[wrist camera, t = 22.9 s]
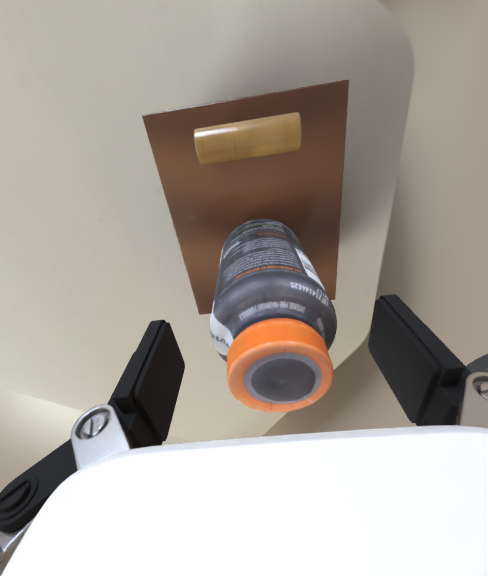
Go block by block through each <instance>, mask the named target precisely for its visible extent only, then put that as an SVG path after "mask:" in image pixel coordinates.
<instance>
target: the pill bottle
mask: <svg viewBox="0 0 488 576" xmlns="http://www.w3.org/2000/svg"><path fill="white" fill-rule="evenodd" d="M336 328H337V320H336V313H335V309H334V306H333V304H332V302H331V300H330V298H329V296H328V294H327V293H326V291H325V289H324V287H323V285H322V283H321V281H320V279H319V277H318V275H317V273H316V271H315V269H314V268H313V266H312V264H311V262H310V261H309V259H308V257H307V255H306V253H305V251H304V249H303V247H302V245H301V243H300V241H299V239H298V238H297V236H296V235H295V234H294V232H293V231H292V230H291V229H290V228H288V227H287V226H286V225H284V224H282V223H280V222H278V221H274V220H270V219H256V220H252V221H248V222H245V223H243V224H242V225H241V226H239V227H237V228H236V229H235V230H234V231H233V232H232V233H231V234H230V235H229V236H228V237H227V239H226V241H225V243H224V245H223V249H222V254H221V260H220V266H219V272H218V278H217V283H216V289H215V294H214V301H213V308H212V314H211V320H210V332H211V338H212V341H213V344H214V346H215V348H216V350H217V351H218V353H219V355H220V356H221V357H222V358H223V359H224V360H225V361H226V362H227V365H228V368H227V382H228V386H229V389H230V391H231V392H232V394H233V395H234V397H235V398H236V399H237V400H239V401H240V402H241V403H243V404H245V405H246V406H249V407H251V408H254V409H257V410H261V411H265V412H286V411H292V410H297V409H300V408H303V407H306V406H308V405H310V404H312V403H314V402H316V401H317V400H319V399H320V398H321V397H322V396H323V395H324V394H325V393H326V392H327V391H328V389H329V388H330V386H331V384H332V381H333V374H334V373H333V372H334V370H333V365H332V362H331V360H330V357H329V354H328V350H329V348H330V347H331V345H332V343H333V341H334V338H335V334H336Z"/></svg>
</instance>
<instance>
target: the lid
mask: <svg viewBox="0 0 488 576" xmlns="http://www.w3.org/2000/svg"><path fill="white" fill-rule="evenodd" d="M348 85H349V80H343V81H337V82H332V83H326V84H320V85H314V86H308V87H303V88H297V89H291V90H285V91H279V92H273V93H268V94H262V95H256V96H250V97H244V98H239V99H233V100H227V101H221V102H215V103H209V104H204V105H198V106H192V107H186V108H180V109H175V110H169V111H163V112H157V113H151V114H146V115H142V117H143V120H144V124H145V127H146V131H147V134H148V138H149V141H150V145H151V148H152V152H153V155H154V159H155V162H156V165H157V169H158V172H159V176H160V179H161V183H162V186H163V190H164V193H165V197H166V200H167V204H168V207H169V211H170V214H171V218H172V221H173V225H174V228H175V231H176V235H177V238H178V242H179V245H180V249H181V252H182V256H183V259H184V263H185V266H186V270H187V273H188V277H189V280H190V284H191V287H192V291H193V294H194V297H195V301H196V304H197V308H198V311H199V314H200V315H201V314H209V313H212V308H213V301H214V294H215V289H216V283H217V278H218V272H219V266H220V260H221V254H222V249H223V245H224V243H225V241H226V239H227V237H228V236H229V235H230V234H231V233H232V232H233V231H234V230H235V229H236V228H237V227H239V226H241V225H242V224H243V223H245V222H248V221H252V220H256V219H270V220H274V221H278V222H280V223H282V224H284V225H286V226H287V227H288V228H290V229H291V230H292V231H293V232H294V234H295V235H296V236H297V238H298V239H299V241H300V243H301V245H302V247H303V249H304V251H305V253H306V255H307V257H308V259H309V261H310V262H311V264H312V266H313V268H314V269H315V271H316V273H317V275H318V277H319V279H320V281H321V283H322V285H323V287H324V289H325V291H326V293H327V294H328V296H329V298H330V300H335V293H336V277H337V261H338V245H339V229H340V213H341V197H342V181H343V165H344V149H345V133H346V117H347V101H348Z"/></svg>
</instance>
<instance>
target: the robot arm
mask: <svg viewBox="0 0 488 576" xmlns="http://www.w3.org/2000/svg"><path fill="white" fill-rule="evenodd" d="M368 347H369V351H370V353H371V355H372V357H373V358H374V360H375V362H376V363H377V365H378V367H379V369H380V370H381V372H382V374H383V375H384V377H385V379H386V381H387V382H388V384H389V386H390V388H391V389H392V391H393V393H394V394H395V396H396V398H397V400H398V401H399V403H400V405H401V407H402V408H403V410H404V412H405V413H406V415H407V417H408V418H409V420H410V421H411V422H412V423H416V425H417V427H396V428H381V429H367V430H351V431H338V432H337V431H336V432H322V433H308V434H294V435H280V436H267V437H253V438H240V439H227V440H214V441H202V442H190V443H180V444H168V445H162V441H165V440H166V438H167V436H168V432H169V428H170V424H171V420H172V416H173V412H174V408H175V405H176V401H177V397H178V393H179V389H180V385H181V381H182V377H183V373H184V369H185V364H184V360H183V358H182V355H181V352H180V350H179V347H178V344H177V342H176V339H175V336H174V334H173V331H172V328H171V326H170V323H168V322H167V323H166V321H165V320H157V321H151V322H150V324H149V326H148V328H147V330H146V332H145V334H144V336H143V338H142V340H141V342H140V344H139V346H138V348H137V350H136V352H134V354H133V355H132V357H131V359H130V361H129V363H128V365H127V367H126V369H125V371H124V373H123V374H122V376H121V378H120V380H119V382H118V384H117V386H116V388H115V390H114V392H113V394H112V396H111V398H110V400H109V402H108V404H102V405H98V406H95V407H93V408H91V409H89V410H88V411H86V412H85V413H84V414H83V415H82V416H81V417H80V418H79V419H78V420H77V421H76V423H75V424H74V426H73V428H72V431H71V439H70V440H68V441H67V442H65V443H64V444H62V445H61V446H60V447H58V448H57V449H56V450H54V451H53V452H52V453H50V454H49V455H47V456H46V457H45V458H43V459H42V460H40V461H39V462H38V463H36V464H35V465H33V466H32V467H31V468H29V469H28V470H26V471H25V472H24V473H22V474H21V475H20V476H18V477H17V478H15V479H14V480H13V481H12V482H11V483H9V484H8V485H7V486H6V487H5V488H4V489H3V490H2V492H1V493H0V576H488V372H475V373H471V372H470V371H469V369H468V368H467V367H466V366H465V365H463V363H462V362H461V361H460V360H459V359H458V358H457V357H456V356H455V355H454V354H453V353H452V352H451V351H450V350H449V349H448V348H447V347H446V346H445V344H444V343H442V341H441V340H439V338H438V337H437V336H436V335H435V334H434V333H433V332H432V331H431V330H430V329H429V328H428V327H427V326H426V325H425V324H424V323H423V322H422V321H421V320H420V319H419V318H418V317H417V316H416V315H415V314H414V313H413V312H412V311H411V309H410V308H409V307H408V306H407V305H406V304H405V303H404V302H403V301H402V300H401V299H400V298H399V297H398V296H397V295H394V294H393V295H384V296H380V298H379V299H378V300H376V301H375V307H374V313H373V319H372V325H371V331H370V337H369V343H368Z"/></svg>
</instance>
